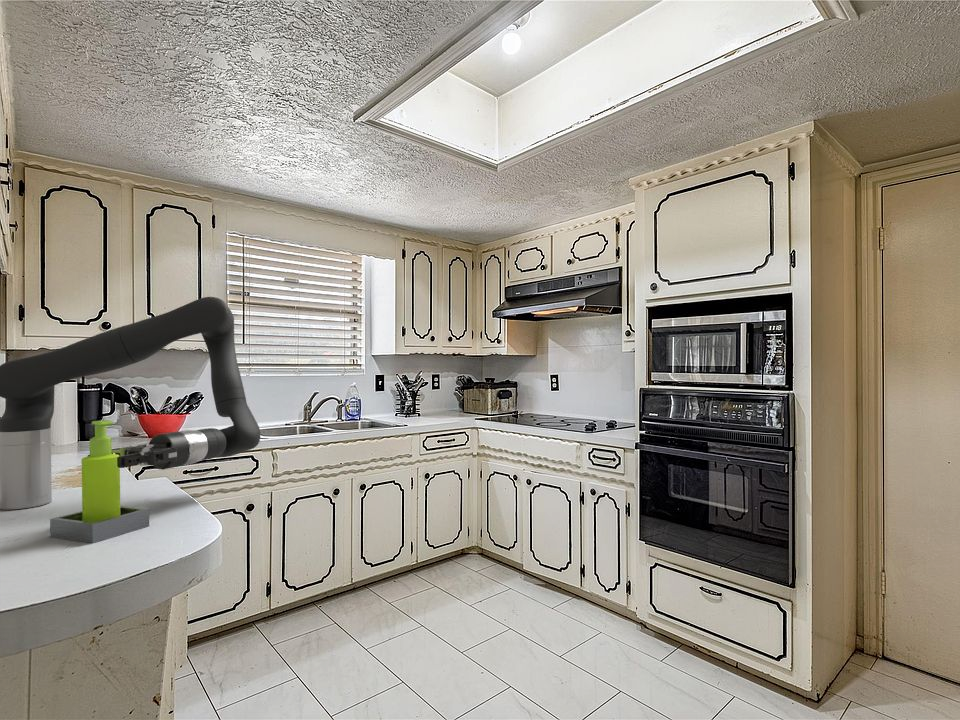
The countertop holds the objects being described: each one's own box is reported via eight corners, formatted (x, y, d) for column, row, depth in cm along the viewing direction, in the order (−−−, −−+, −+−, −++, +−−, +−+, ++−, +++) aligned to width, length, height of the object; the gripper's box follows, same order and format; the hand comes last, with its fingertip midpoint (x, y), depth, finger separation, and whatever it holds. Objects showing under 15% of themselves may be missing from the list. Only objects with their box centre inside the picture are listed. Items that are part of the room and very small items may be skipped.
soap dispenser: (91, 534, 98) (89, 422, 98) (77, 527, 102) (76, 421, 102) (128, 525, 102) (126, 419, 102) (113, 520, 106) (111, 418, 107)
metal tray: (50, 537, 99) (50, 518, 99) (108, 521, 109) (108, 504, 109) (92, 543, 95) (92, 524, 95) (149, 526, 105) (149, 508, 105)
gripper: (155, 430, 120) (78, 440, 105) (203, 432, 115) (128, 442, 100) (156, 464, 120) (78, 479, 105) (203, 467, 115) (129, 483, 100)
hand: (103, 461), depth 103 cm, fingers open, 8 cm apart
